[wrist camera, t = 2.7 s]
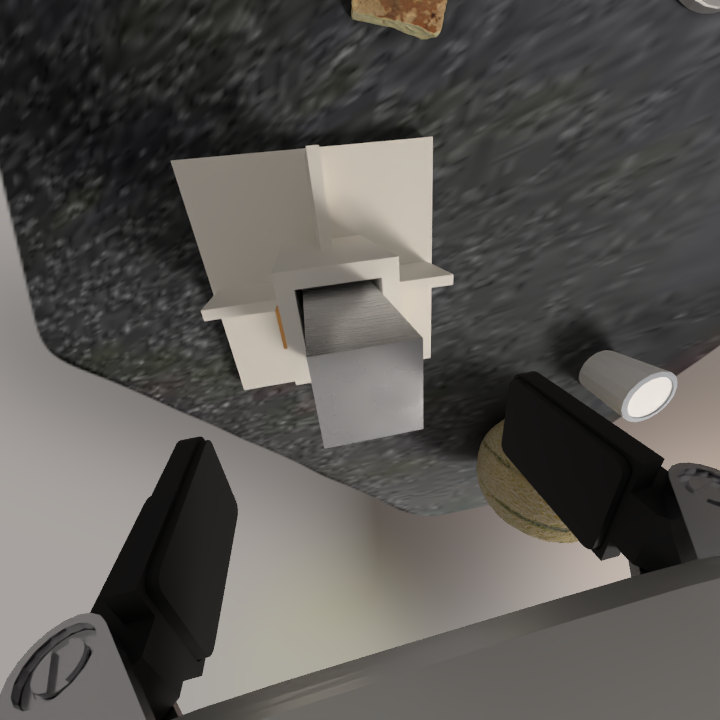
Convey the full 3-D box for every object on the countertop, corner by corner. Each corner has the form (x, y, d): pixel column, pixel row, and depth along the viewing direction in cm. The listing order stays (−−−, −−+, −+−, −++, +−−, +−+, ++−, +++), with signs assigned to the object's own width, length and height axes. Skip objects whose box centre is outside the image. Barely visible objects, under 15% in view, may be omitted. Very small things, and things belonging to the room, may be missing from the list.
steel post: (300, 262, 26) (304, 356, 10) (348, 255, 26) (424, 336, 11) (308, 309, 28) (323, 449, 12) (353, 302, 28) (424, 429, 13)
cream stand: (177, 162, 24) (61, 126, 12) (426, 139, 26) (531, 90, 14) (246, 382, 33) (218, 482, 22) (425, 352, 36) (489, 427, 24)
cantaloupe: (436, 444, 43) (498, 553, 29) (521, 368, 39) (633, 453, 26) (495, 485, 49) (569, 590, 36) (573, 422, 45) (685, 512, 32)
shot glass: (564, 384, 42) (610, 416, 36) (597, 339, 39) (652, 365, 33) (599, 396, 44) (648, 427, 38) (632, 353, 41) (690, 380, 35)
